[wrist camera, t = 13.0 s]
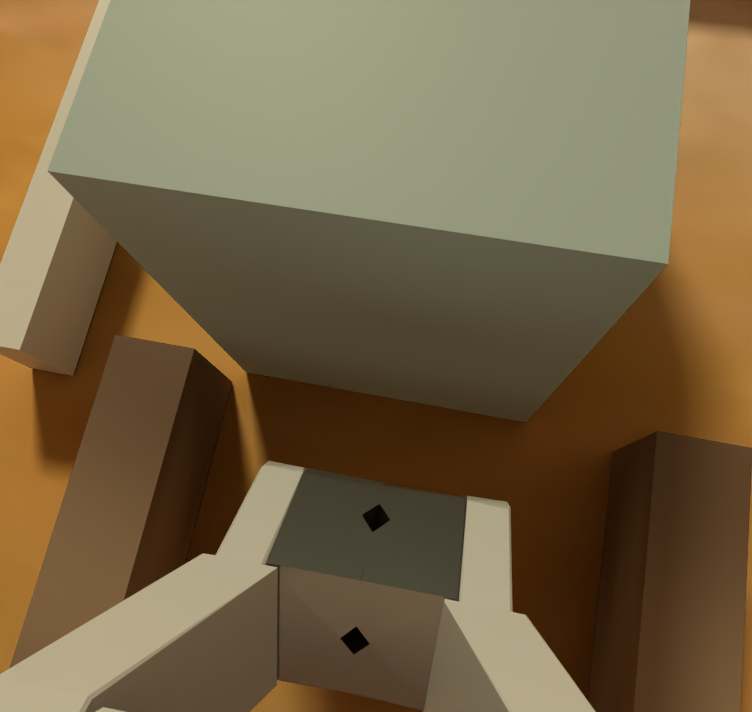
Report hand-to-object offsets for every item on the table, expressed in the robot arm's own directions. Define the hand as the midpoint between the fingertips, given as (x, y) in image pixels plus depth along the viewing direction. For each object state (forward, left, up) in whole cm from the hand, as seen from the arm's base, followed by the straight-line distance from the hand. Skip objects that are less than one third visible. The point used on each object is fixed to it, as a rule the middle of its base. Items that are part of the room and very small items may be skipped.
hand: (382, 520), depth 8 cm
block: (+7, +1, -5) cm, 9 cm away
